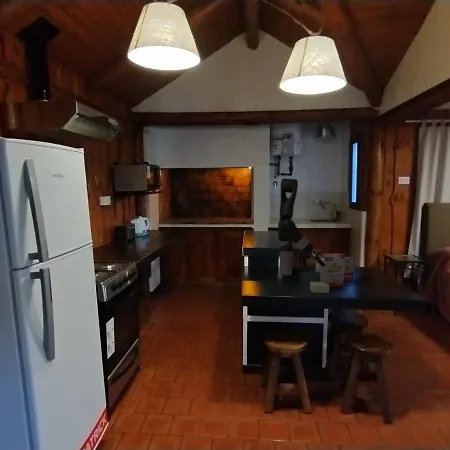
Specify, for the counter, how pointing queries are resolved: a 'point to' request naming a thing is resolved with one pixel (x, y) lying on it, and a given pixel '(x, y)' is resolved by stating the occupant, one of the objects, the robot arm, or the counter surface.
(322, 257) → the jar
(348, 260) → the candy bar box
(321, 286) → the base
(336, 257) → the cracker box
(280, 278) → the counter surface
